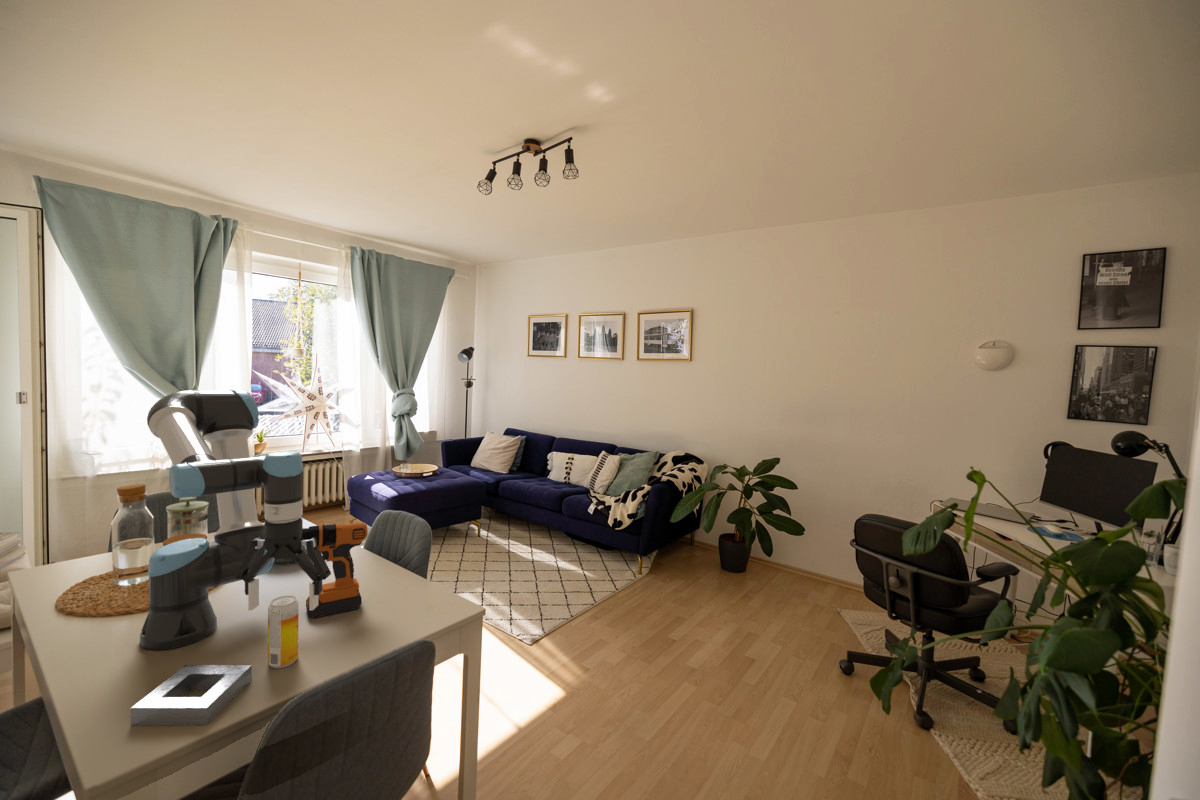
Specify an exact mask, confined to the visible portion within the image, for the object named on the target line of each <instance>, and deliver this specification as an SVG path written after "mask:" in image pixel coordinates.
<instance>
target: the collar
mask: <svg viewBox="0 0 1200 800" xmlns="http://www.w3.org/2000/svg"><path fill="white" fill-rule="evenodd" d="M252 672H253V668H252V665H251V664H250V665H249V664H248V665H247V664H245V665H244V664H242V665H241V664H240V665H239V664H236V665H235V664H226V665H225V664H185V665H183V666H182V667H181V668H180V669H178V670H177V671H176V672H175V673H173V674H172V675H170V677H168V678H167V679H166V680H165V681H163V682H162V683H160V684H159V685H158V686H157V687H155V688H154V689H153V690H152V691H150V692H149V693H148V694H147V695H145V696H144V697H143V698H142V699H140V700H139V701H138V702H136V703H134V705H133V706H131V707H130V726H207V725H209V724H210V723H211V721H212V720H213V719H215V717H217V716H218V715H219V713H220V712H222V711H223V710H224V708H226V707H227V706H228V705H229V703H231V701H233V700H234V698H236V697H237V696H238V694H240V693H241V692H242V691H243V689H245V688H246V687H247V685H249V684H250V683H251V682H252V680H253V679H252V678H253V677H252V676H253V674H252ZM190 690H195V691H196V690H197V691H198V690H199V691H200V690H205V691H206V690H207V691H206V692H205V693H204V694H203V695H202V696H184V695H185V694H186V693H188V692H189V691H190Z"/></svg>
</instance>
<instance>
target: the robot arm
mask: <svg viewBox="0 0 1200 800" xmlns="http://www.w3.org/2000/svg"><path fill="white" fill-rule="evenodd" d="M259 417H260V414H259V409H258V405H257V402H256V400H255V398H254V396H253V395H252V394H251V393H250V392H248V391H246V390H235V389H226V390H225V389H224V390H222V389H217V390H215V389H214V390H211V389H209V390H208V389H207V390H204V389H203V390H192V389H191V390H180V391H176V392H172V393H170V394H167V395H165V396H163V397H162V398H160V399H159V400H157V402H155V403H154V404H153V405H152V406H151V407H150V410H149V411H148V413H147V417H146V420H147V421H146V422H147V423H146V424H147V426H148V428H149V430H150V432H151V434H152V435H154V436H155V437H157V438H158V439H159V440H160V441H161V443H162V445H163V447H164V449H165V451H166V453H167V455H168V457H169V459H170V461H171V463H172V464H173V465H172V466H171V467H170V468H169V471H168V485H169V491H170V494H171V496H173V497H174V498H177V499H183V498H198V497H202V496H203V497H204V496H208V495H216V503H217V511H218V521H219V529H218V530H217V531H216V532H215V533H214V535H213V538H214V541H212V542H209V541H208V539H207V538H205V537H195V538H186V539H181V540H178V541H173V542H171V543H169V544H165V545H163V546H161V547H160V548H158V549H156V550H155V551H154V552H153V553H152V554H151V555H150V557H149V560H148V567H147V568H148V569H147V576H148V605H149V606H148V614H147V615H146V618H145V621H144V623H143V626H142V627H141V631H140V635H139V644H140V646H141V647H142V648H143V649H145V650H151V651H161V650H170V649H176V648H180V647H184V646H187V645H190V644H193V643H196V642H198V641H201V640H202V639H205V638H206V637H208V636H209V635H211V634H213V632H215V630H216V629H217V627H218V619H217V618H218V617H217V614H216V613H215V611H214V608H213V607H212V603H211V601H210V599H209V589H211V588H215V587H221V586H225V585H227V584H233V583H235V582H241V581H244V594H245V596H247V597H248V602H247V603H248V611H253V610H254V609H256V608H257V607H259V605H260V578H258V576H262V575H265V574H267V573H268V572H269V571H271V569H272V567H273V564H274V562H275V561H274V559H290V558H291V559H292V560H293V561H294V562H295V563H296V564H297V566H299V567H300V568H301V570H302V571H303V572H304V573H305V574H306V575H307V576H308V577H309V579H310V580H311V581H310V582H309V584H308V585H309V586H308V588H309V592H308V593H309V595H308V597H309V610H314V609H315V608H316V607H317V606H318V595H319V594H320V593H321V592H322V585H323V581H324V580H326V579H327V578H329V576H331V574H332V572H331V570H330V568H329V566H328V564H327V561H326V560H324V558H323V555H322V553H320V551H319V549H318V547H317V539H316V538H312V539H310V540H303V538H302V531H303V528H304V527H303V518H302V516H303V514H304V513H303V476H304V475H303V470H304V464H303V456H302V454H301V452H297V451H292V450H291V451H288V450H287V451H286V450H285V451H284V450H283V451H282V450H281V451H273V452H269V453H259V454H256V455H253V456H251V457H250V450H249V442H248V441H249V438H250V437H251V436H252V435H253V433H254V432H253V431H254V429H256V428H257V427H258V425H259V421H260V418H259ZM201 433H202V434H201ZM207 442H208V443H209V444H210V447H209V445H208V443H207ZM261 488H262V489H263V488H264V489H263V491H264V492H263V493H264V495H263V496H264V497H263V498H264V499H263V500H264V519H265V520H266V521H265V522H264V523H263V522H261V521H259V518H258V513H257V505H256V504H257V503H256V498H255V489H261ZM302 546H304V547H305V549H307V552H308V554H307V555H308V556H309V557H308V556H307V555H305V552H304V551H303V550H302V549H301V547H302ZM296 554H298V555H296ZM294 562H293V563H294Z"/></svg>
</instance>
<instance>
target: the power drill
mask: <svg viewBox="0 0 1200 800" xmlns="http://www.w3.org/2000/svg"><path fill="white" fill-rule="evenodd" d="M304 528H305V529H303V531H302V538H303V540H310V539H312V538H316V539H317V547H318V549H319V551H320V553H321V554H322V556H323V558H324V560H325V562H326V563H328V562H331V563H332V571H333V574H334V575H333V576H334V579H335V580H334V581H333V582H328V583H322V592H321V593H320V594H319V595H318V606H317V607H316V608H315V609H314V610H309V596H308V597H307V598H306V600H305V608H306V609H305V610H306V614H307V616H308V617H312V618H314V619H316V618H319V617H325V616H330V615H335V614H339V613H344V612H347V611H348V612H349V611H352V610H357V609H359V608H360V607H361V605H362V595H361V593H360V585H359V582H358V579H357V578H354V576H355V574H354V572H355V568H354V567H355V565H354V560H353V557H352V554H351V549H353V548H355V547H358V546H360V545H361V544H362V543H363V541H365V540H366V539H367V536H368V526H367V524H366V522H363V521H362V522H361V521H360V522H348V523H334V524H319V525H312V526H309V527H304ZM302 547H304V546H302Z"/></svg>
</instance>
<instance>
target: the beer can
mask: <svg viewBox="0 0 1200 800" xmlns="http://www.w3.org/2000/svg"><path fill="white" fill-rule="evenodd" d="M297 598H298V597H296V596H295V595H283V596H278V597H276V598H274V599H272V600H270V603H269V605H268V607H267V664H268V666H270V667H271V668H273V669H283V668H287V667H290V666H291V665H293V664H294V663H295V662H296V660H297V659H298V657H299V601H298V599H297Z"/></svg>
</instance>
